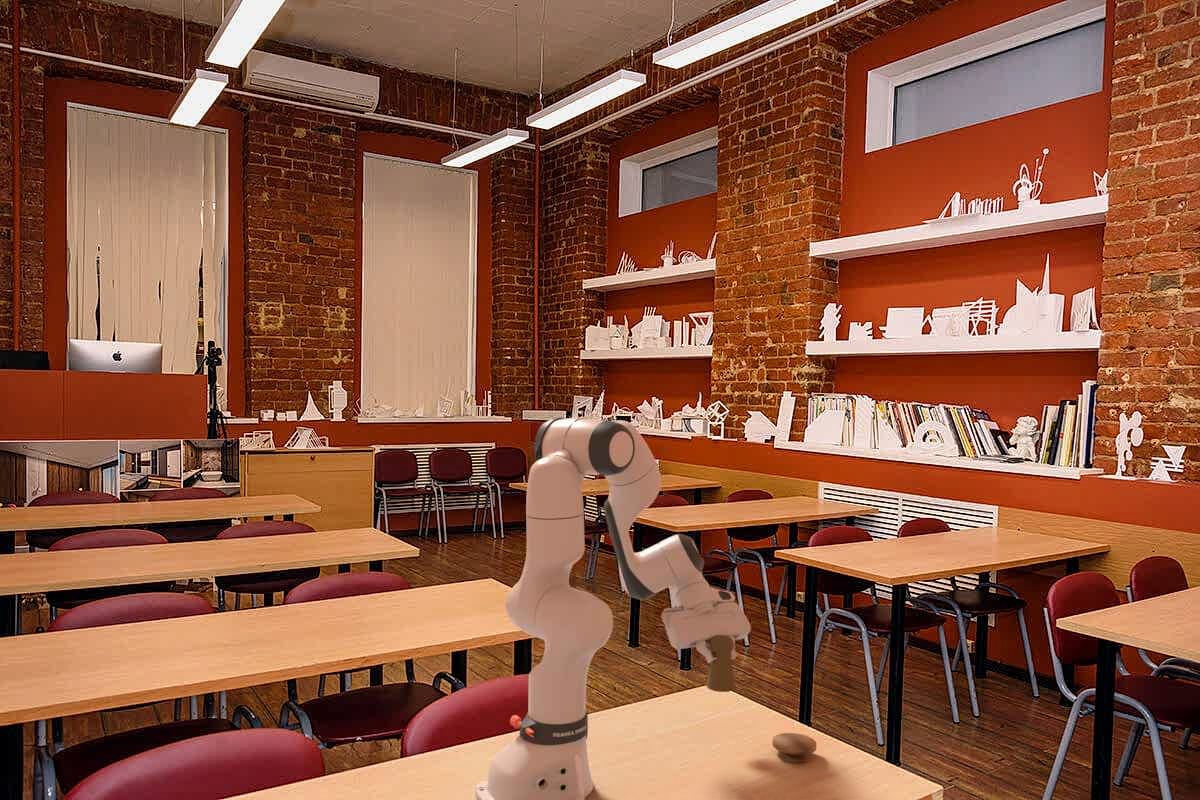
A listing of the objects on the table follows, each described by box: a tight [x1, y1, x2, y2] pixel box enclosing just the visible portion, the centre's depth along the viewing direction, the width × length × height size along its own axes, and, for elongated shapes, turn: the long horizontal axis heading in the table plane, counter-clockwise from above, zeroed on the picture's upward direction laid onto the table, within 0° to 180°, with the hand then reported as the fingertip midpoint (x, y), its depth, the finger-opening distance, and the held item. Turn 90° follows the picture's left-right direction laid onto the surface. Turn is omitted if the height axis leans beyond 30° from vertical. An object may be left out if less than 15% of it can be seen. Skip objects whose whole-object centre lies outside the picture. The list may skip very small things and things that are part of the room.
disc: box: [772, 732, 817, 764], centre depth 181 cm, size 9×9×3 cm
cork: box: [706, 635, 736, 693], centre depth 186 cm, size 6×6×11 cm
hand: (723, 659), depth 186 cm, fingers closed on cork, 4 cm apart
